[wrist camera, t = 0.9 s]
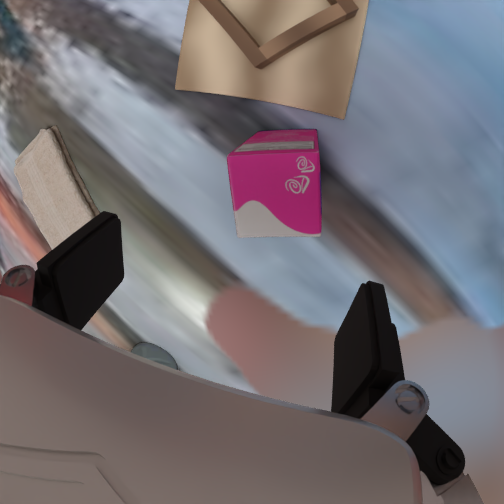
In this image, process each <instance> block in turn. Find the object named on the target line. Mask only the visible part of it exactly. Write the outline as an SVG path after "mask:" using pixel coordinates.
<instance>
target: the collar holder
mask: <svg viewBox="0 0 504 504" xmlns="http://www.w3.org/2000/svg"><path fill="white" fill-rule="evenodd" d="M368 2H369V0H190V1H189V6H188V11H187V16H186V22H185V27H184V33H183V39H182V45H181V51H180V57H179V64H178V71H177V78H176V86H175V89H176V90H187V91H198V92H207V93H215V94H222V95H230V96H236V97H243V98H249V99H255V100H261V101H266V102H271V103H276V104H281V105H286V106H291V107H296V108H300V109H304V110H309V111H313V112H317V113H321V114H325V115H329V116H332V117H336V118H340V119H343V120H344V118H345V114H346V110H347V105H348V101H349V97H350V92H351V88H352V83H353V79H354V74H355V69H356V65H357V60H358V55H359V50H360V45H361V40H362V35H363V30H364V24H365V19H366V13H367V8H368Z"/></svg>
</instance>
